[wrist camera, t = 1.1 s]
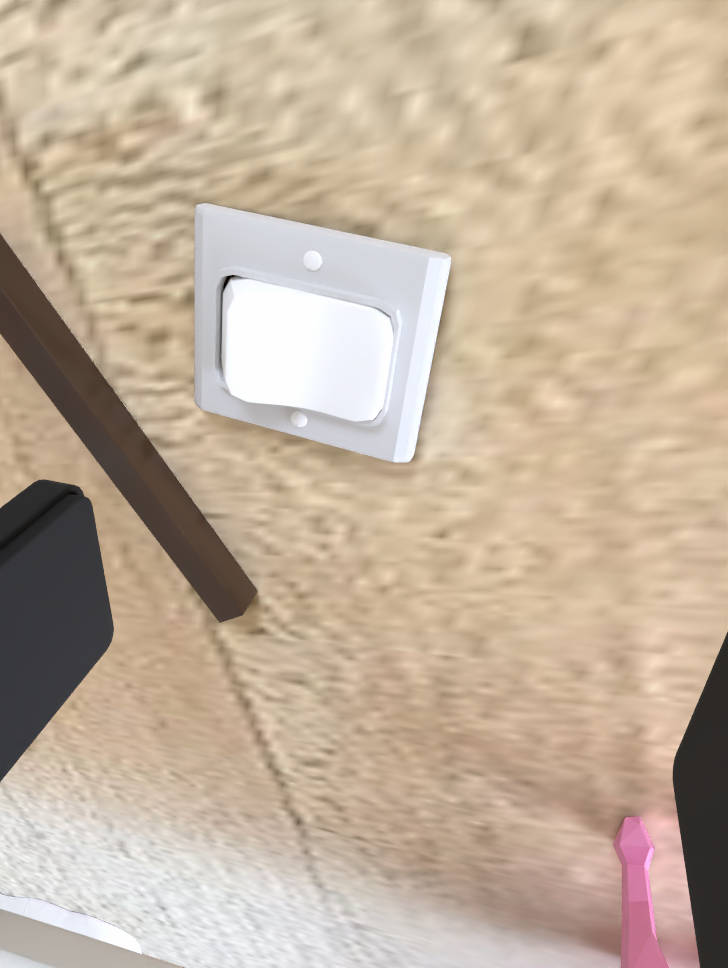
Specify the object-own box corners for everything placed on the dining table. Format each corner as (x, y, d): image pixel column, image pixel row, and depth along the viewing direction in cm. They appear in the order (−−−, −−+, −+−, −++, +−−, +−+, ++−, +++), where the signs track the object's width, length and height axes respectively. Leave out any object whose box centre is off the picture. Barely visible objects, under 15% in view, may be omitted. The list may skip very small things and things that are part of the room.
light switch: (161, 211, 31) (436, 271, 29) (206, 199, 35) (455, 251, 32) (166, 425, 37) (396, 489, 35) (204, 396, 41) (416, 453, 38)
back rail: (-5, 227, 38) (-38, 236, 36) (258, 591, 46) (243, 615, 44) (-26, 244, 39) (-60, 254, 37) (235, 598, 47) (219, 623, 45)
